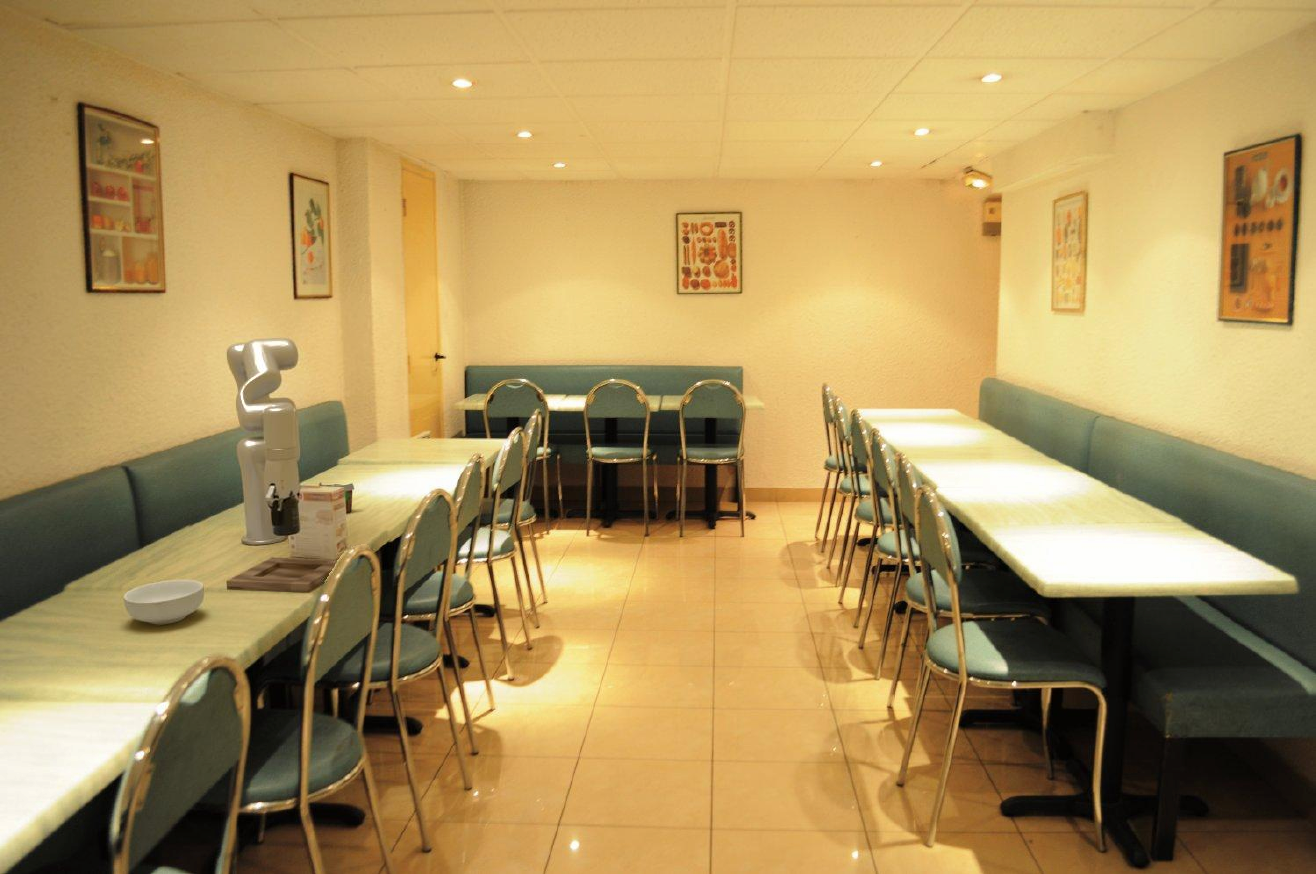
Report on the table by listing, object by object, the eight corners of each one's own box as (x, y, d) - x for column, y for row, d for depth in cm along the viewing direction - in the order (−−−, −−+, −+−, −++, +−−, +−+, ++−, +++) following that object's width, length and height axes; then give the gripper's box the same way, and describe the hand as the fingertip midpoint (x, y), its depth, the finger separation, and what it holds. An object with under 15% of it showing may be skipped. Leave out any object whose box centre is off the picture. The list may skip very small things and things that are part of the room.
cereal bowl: (150, 607, 248) (147, 578, 247) (218, 607, 247) (216, 579, 246) (111, 631, 231) (108, 601, 230) (184, 631, 230) (181, 601, 229)
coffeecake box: (349, 554, 294) (345, 486, 291) (335, 560, 287) (331, 491, 284) (303, 550, 298) (299, 484, 295) (288, 557, 291) (284, 489, 288)
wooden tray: (272, 565, 283) (272, 557, 282) (348, 568, 279) (347, 560, 279) (227, 589, 261) (226, 580, 261) (308, 592, 258) (307, 584, 257)
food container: (312, 515, 341) (310, 485, 340) (321, 511, 347) (319, 482, 346) (347, 516, 339) (345, 486, 338) (355, 512, 345) (354, 483, 344)
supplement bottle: (293, 528, 273) (290, 484, 271) (305, 533, 268) (302, 487, 266) (267, 533, 268) (264, 488, 267) (279, 537, 264) (276, 491, 262)
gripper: (284, 448, 274) (289, 514, 277) (249, 459, 257) (254, 529, 260) (311, 448, 273) (315, 514, 276) (276, 460, 256) (281, 530, 259)
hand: (285, 521), depth 268 cm, fingers closed on supplement bottle, 6 cm apart
